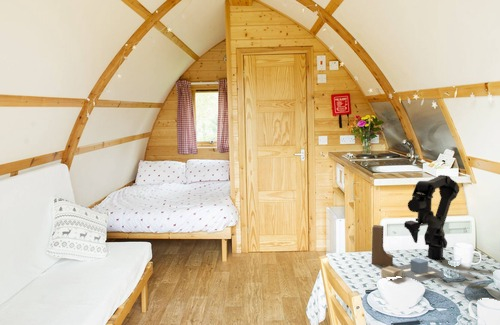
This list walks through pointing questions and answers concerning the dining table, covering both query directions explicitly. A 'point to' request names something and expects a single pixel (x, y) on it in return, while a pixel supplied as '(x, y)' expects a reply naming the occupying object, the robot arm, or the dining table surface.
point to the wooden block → (379, 248)
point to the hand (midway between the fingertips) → (423, 241)
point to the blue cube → (419, 266)
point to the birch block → (390, 272)
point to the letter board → (429, 275)
